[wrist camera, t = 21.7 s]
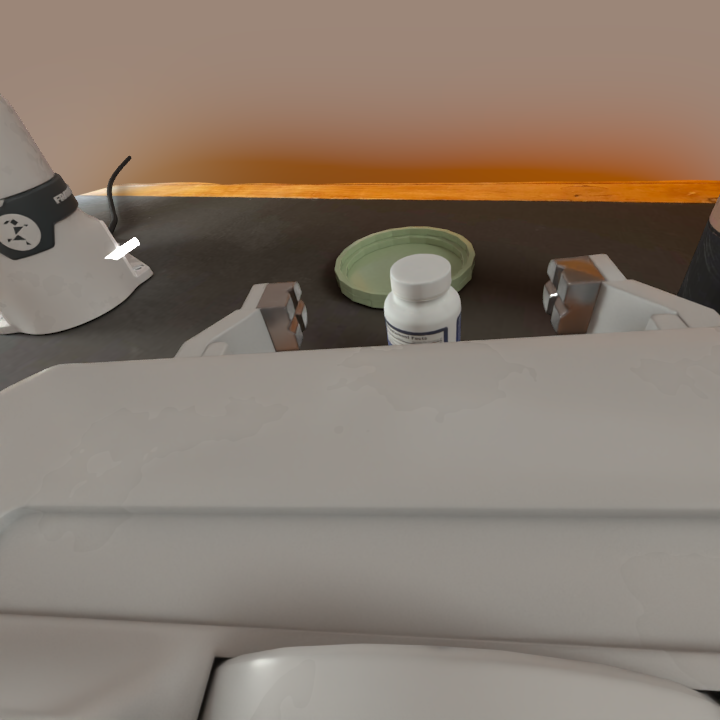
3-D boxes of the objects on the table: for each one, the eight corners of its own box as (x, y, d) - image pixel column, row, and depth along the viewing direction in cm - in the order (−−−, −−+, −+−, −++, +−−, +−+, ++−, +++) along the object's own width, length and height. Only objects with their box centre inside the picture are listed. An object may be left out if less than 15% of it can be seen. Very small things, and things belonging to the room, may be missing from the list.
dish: (315, 275, 47) (311, 260, 46) (413, 230, 52) (412, 216, 51) (390, 331, 37) (388, 313, 36) (504, 269, 42) (505, 252, 41)
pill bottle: (419, 344, 35) (413, 241, 28) (472, 368, 32) (478, 259, 25) (379, 378, 32) (361, 275, 26) (431, 409, 29) (427, 299, 23)
